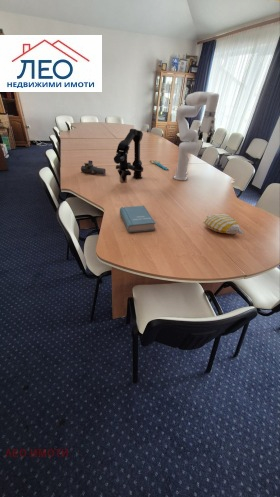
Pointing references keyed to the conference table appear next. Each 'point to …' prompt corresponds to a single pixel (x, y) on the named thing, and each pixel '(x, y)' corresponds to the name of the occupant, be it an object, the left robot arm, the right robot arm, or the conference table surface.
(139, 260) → the conference table surface
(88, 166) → the laser sight
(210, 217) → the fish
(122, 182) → the grey metal block
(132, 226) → the book
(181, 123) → the right robot arm
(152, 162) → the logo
